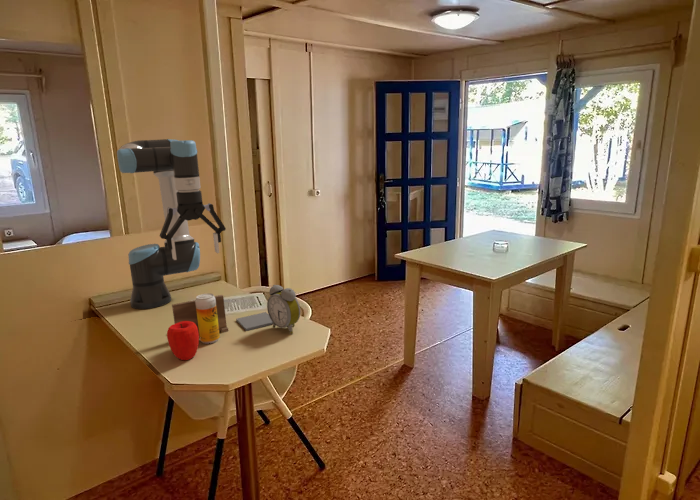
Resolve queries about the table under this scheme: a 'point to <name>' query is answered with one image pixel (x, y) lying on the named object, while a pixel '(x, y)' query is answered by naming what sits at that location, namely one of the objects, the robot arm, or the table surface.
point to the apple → (183, 339)
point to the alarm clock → (283, 307)
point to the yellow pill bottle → (207, 318)
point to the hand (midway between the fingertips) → (196, 255)
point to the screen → (189, 313)
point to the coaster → (255, 321)
